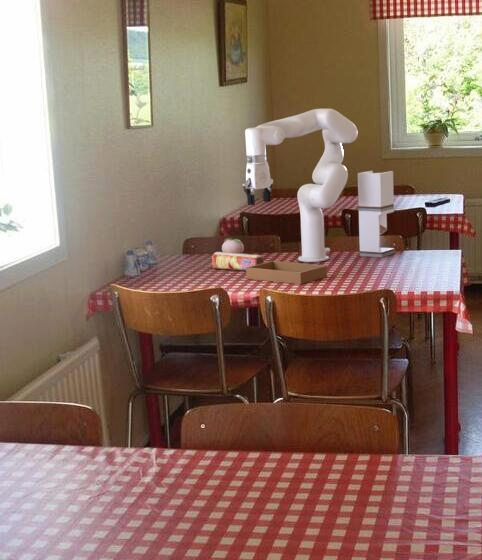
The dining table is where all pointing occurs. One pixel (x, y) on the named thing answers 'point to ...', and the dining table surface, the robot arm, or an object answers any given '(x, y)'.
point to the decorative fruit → (232, 246)
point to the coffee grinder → (374, 211)
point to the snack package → (235, 261)
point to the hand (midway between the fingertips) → (259, 203)
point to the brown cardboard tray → (286, 272)
